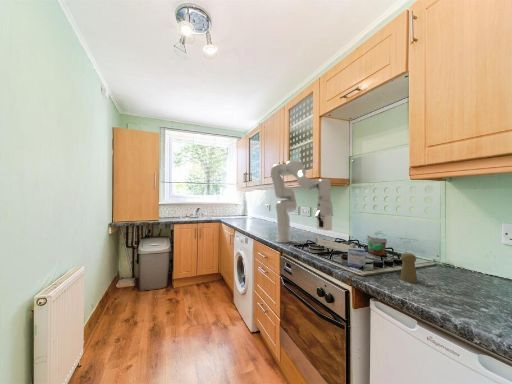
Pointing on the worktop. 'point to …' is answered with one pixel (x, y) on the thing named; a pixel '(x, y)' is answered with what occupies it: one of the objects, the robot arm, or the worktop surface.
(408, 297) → the worktop surface
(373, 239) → the food container
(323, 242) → the price rail
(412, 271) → the cork
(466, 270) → the worktop surface
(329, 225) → the cream carton
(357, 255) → the medicine box
